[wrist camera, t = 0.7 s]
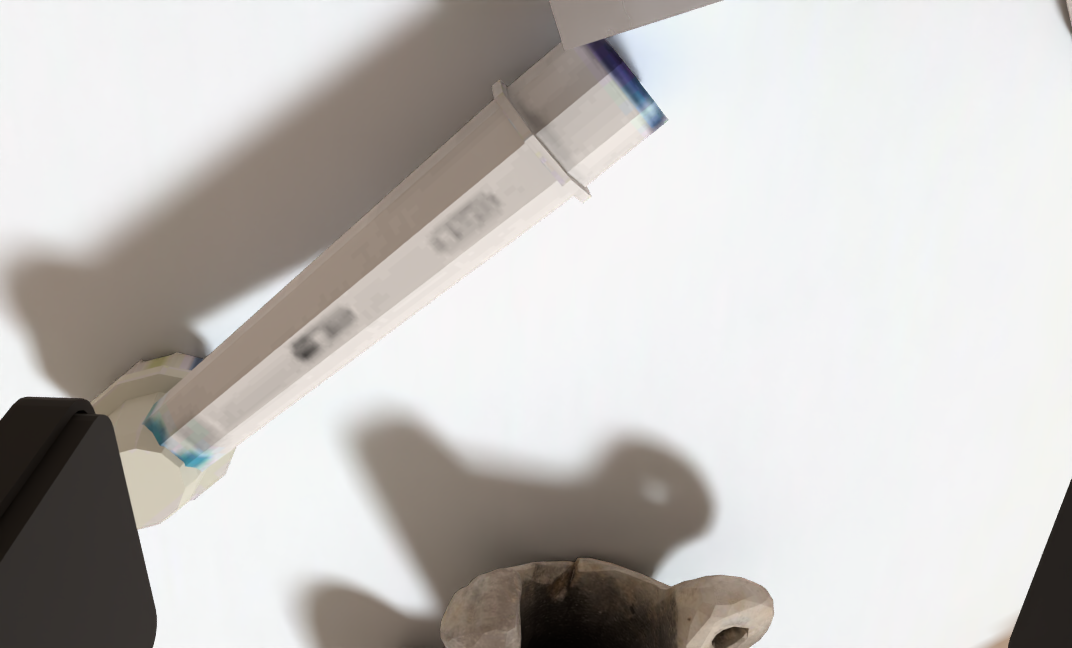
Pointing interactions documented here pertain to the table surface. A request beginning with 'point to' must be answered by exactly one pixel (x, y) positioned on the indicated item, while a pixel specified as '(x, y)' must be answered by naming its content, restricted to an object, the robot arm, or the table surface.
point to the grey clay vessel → (603, 609)
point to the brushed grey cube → (612, 17)
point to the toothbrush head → (380, 271)
